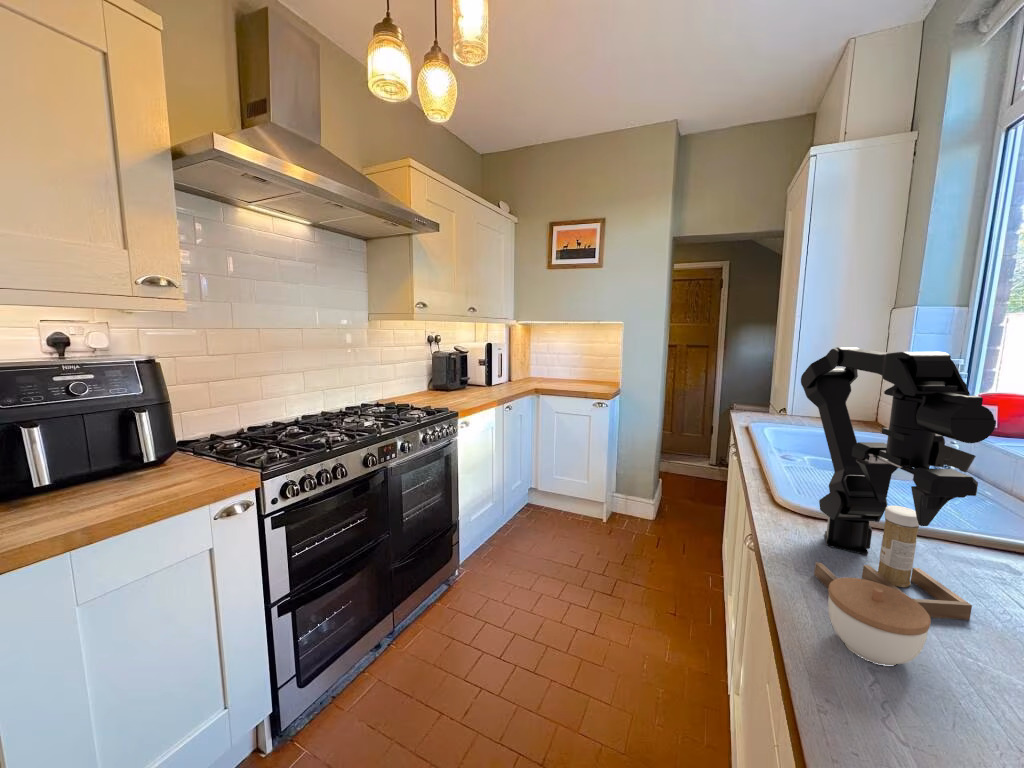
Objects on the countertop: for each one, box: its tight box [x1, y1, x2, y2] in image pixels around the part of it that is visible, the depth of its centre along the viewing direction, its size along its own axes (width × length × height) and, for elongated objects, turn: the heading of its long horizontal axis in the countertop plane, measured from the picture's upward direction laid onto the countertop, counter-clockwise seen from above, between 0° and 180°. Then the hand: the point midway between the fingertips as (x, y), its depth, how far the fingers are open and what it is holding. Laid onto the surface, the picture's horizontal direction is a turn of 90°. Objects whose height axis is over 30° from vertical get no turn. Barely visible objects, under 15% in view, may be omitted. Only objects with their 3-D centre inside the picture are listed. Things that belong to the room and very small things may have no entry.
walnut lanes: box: [813, 562, 973, 621], centre depth 70 cm, size 10×17×2 cm, turn 83°
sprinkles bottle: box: [876, 505, 920, 588], centre depth 73 cm, size 5×5×13 cm
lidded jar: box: [827, 577, 932, 666], centre depth 58 cm, size 11×11×9 cm
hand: (900, 512), depth 72 cm, fingers open, 9 cm apart
